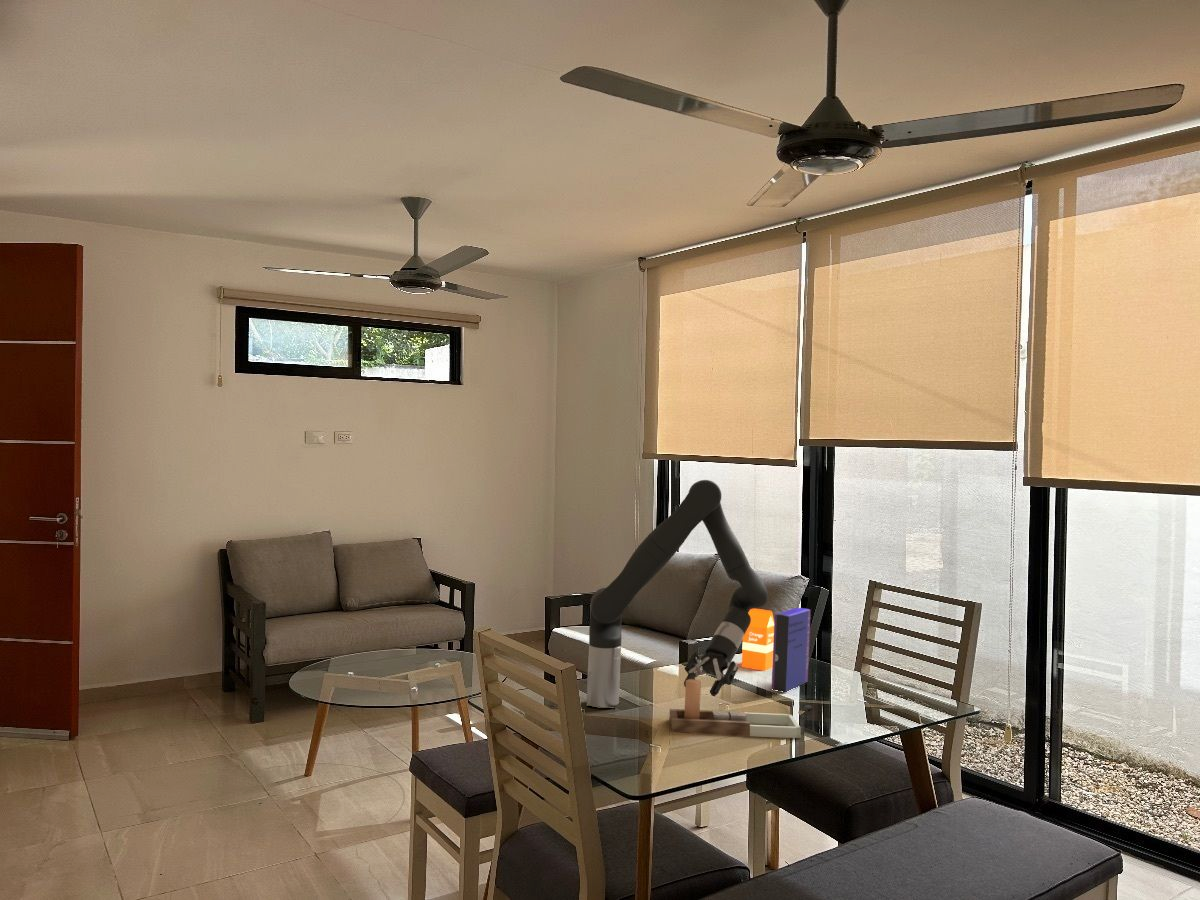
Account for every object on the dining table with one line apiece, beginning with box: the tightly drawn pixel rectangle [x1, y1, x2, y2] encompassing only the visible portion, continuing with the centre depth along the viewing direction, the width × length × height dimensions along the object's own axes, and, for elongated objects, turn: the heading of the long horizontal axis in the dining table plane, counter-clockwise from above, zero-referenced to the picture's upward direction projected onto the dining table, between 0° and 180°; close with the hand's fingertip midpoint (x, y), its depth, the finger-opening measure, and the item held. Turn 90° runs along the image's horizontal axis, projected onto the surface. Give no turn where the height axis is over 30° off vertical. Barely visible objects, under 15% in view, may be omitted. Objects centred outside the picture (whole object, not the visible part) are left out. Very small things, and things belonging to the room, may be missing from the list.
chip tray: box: [744, 711, 802, 739], centre depth 238 cm, size 13×12×4 cm
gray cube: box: [728, 710, 746, 721], centre depth 238 cm, size 4×4×4 cm
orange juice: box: [741, 608, 774, 672], centre depth 313 cm, size 8×9×20 cm
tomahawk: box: [797, 704, 813, 716], centre depth 254 cm, size 21×7×1 cm, turn 145°
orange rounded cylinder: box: [684, 678, 702, 719], centre depth 238 cm, size 4×4×12 cm
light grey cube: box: [711, 709, 729, 721], centre depth 238 cm, size 4×4×4 cm
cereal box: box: [771, 607, 811, 693], centre depth 288 cm, size 17×5×24 cm, turn 145°
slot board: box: [668, 708, 751, 737], centre depth 238 cm, size 20×12×4 cm, turn 90°
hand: (699, 690), depth 240 cm, fingers open, 8 cm apart
